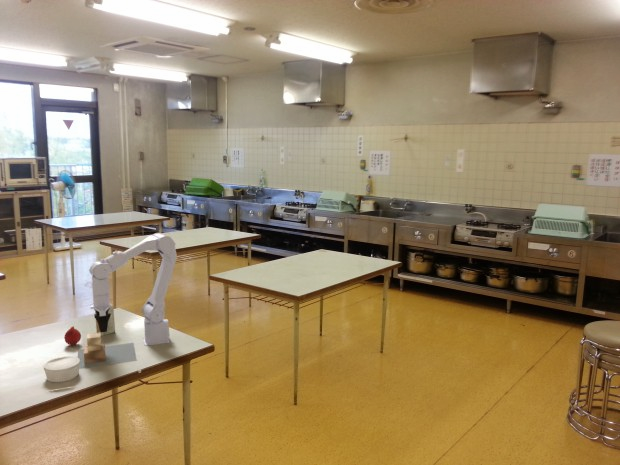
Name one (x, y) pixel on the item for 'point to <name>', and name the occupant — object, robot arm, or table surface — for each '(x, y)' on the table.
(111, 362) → the mat
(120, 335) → the table surface
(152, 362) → the table surface
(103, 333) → the skincare box
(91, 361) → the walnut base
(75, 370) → the ramekin
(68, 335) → the onion
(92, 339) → the birch block
